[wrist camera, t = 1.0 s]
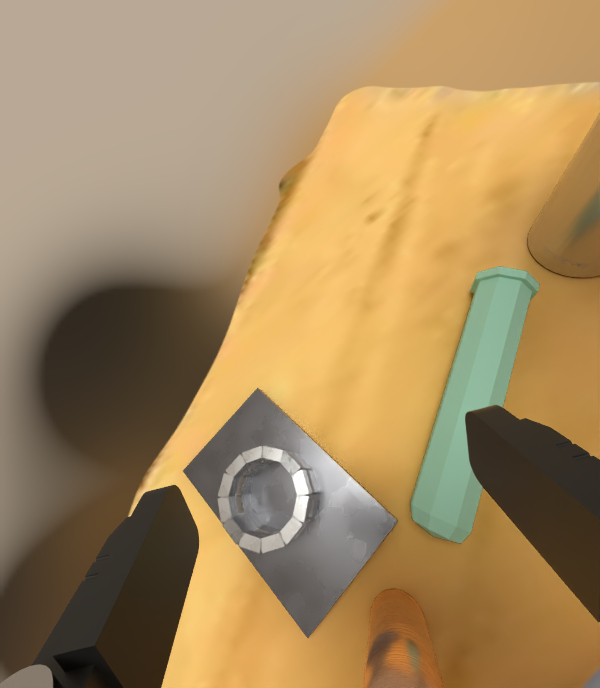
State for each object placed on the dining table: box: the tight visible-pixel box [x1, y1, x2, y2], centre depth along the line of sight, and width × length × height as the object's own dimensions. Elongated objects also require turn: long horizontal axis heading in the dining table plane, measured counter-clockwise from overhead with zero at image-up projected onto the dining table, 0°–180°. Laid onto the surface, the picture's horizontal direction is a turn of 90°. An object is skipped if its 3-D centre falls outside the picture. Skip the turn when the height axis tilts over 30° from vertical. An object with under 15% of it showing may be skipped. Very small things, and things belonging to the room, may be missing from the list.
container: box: [410, 266, 540, 544], centre depth 29 cm, size 6×6×25 cm
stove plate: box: [183, 388, 397, 638], centre depth 29 cm, size 12×19×6 cm, turn 46°
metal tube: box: [363, 589, 444, 688], centre depth 19 cm, size 5×5×16 cm
